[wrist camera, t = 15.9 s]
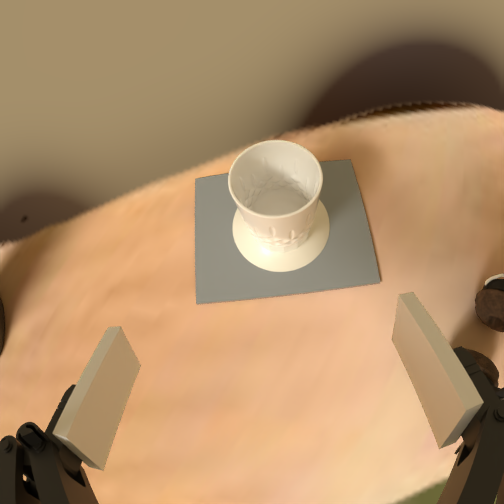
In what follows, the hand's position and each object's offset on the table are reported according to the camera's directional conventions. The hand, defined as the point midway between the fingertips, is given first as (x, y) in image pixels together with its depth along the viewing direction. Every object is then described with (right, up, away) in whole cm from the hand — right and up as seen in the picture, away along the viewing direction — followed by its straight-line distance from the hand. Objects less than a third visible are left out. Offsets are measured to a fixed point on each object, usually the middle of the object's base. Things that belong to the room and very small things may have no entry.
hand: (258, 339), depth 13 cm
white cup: (+3, +7, +21) cm, 22 cm away
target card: (+3, +7, +21) cm, 22 cm away
